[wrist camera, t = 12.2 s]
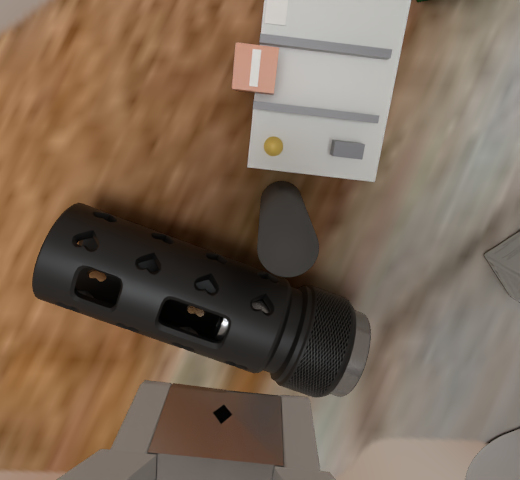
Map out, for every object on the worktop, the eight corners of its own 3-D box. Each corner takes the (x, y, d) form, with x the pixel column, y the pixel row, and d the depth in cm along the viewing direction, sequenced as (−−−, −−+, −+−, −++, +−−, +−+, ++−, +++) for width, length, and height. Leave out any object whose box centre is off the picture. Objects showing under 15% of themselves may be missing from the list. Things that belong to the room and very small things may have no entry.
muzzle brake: (99, 188, 40) (44, 214, 30) (359, 286, 43) (387, 339, 33) (76, 272, 43) (19, 321, 33) (322, 359, 46) (337, 429, 36)
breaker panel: (395, 10, 35) (418, -8, 30) (364, 174, 39) (379, 185, 34) (266, -6, 35) (266, -27, 29) (249, 161, 39) (246, 169, 34)
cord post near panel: (304, 183, 40) (323, 222, 26) (298, 223, 41) (313, 280, 27) (263, 178, 39) (260, 215, 26) (258, 219, 41) (254, 273, 27)
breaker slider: (277, 54, 32) (279, 47, 28) (273, 95, 33) (274, 93, 29) (239, 50, 32) (235, 41, 28) (236, 90, 33) (231, 88, 29)
